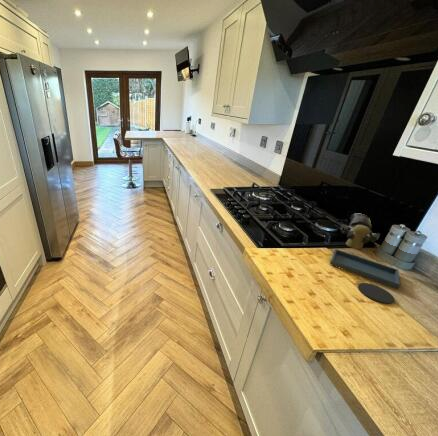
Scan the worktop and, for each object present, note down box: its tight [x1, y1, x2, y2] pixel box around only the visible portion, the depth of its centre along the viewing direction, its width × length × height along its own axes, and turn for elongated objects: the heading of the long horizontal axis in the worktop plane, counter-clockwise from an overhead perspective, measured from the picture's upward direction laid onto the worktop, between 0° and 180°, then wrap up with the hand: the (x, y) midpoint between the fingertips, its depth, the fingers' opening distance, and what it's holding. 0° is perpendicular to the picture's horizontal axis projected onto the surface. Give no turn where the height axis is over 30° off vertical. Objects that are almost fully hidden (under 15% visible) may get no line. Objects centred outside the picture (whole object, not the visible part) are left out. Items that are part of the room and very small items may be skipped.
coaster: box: [357, 282, 395, 305], centre depth 77 cm, size 9×9×1 cm
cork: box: [345, 225, 370, 250], centre depth 100 cm, size 6×6×11 cm
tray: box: [329, 248, 401, 290], centre depth 89 cm, size 19×11×2 cm, turn 48°
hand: (357, 239), depth 98 cm, fingers closed on cork, 4 cm apart
